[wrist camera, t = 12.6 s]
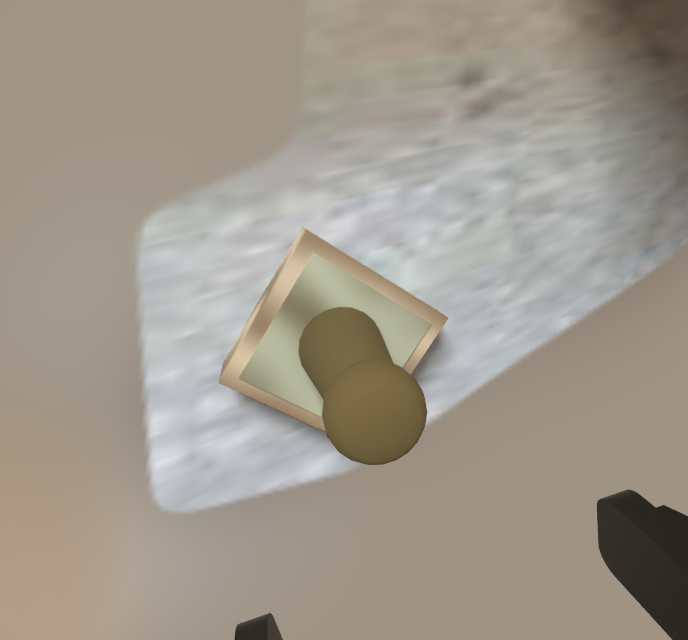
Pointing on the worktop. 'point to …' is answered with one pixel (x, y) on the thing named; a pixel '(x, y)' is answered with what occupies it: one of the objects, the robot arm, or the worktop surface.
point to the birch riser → (301, 307)
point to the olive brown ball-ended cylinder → (361, 387)
